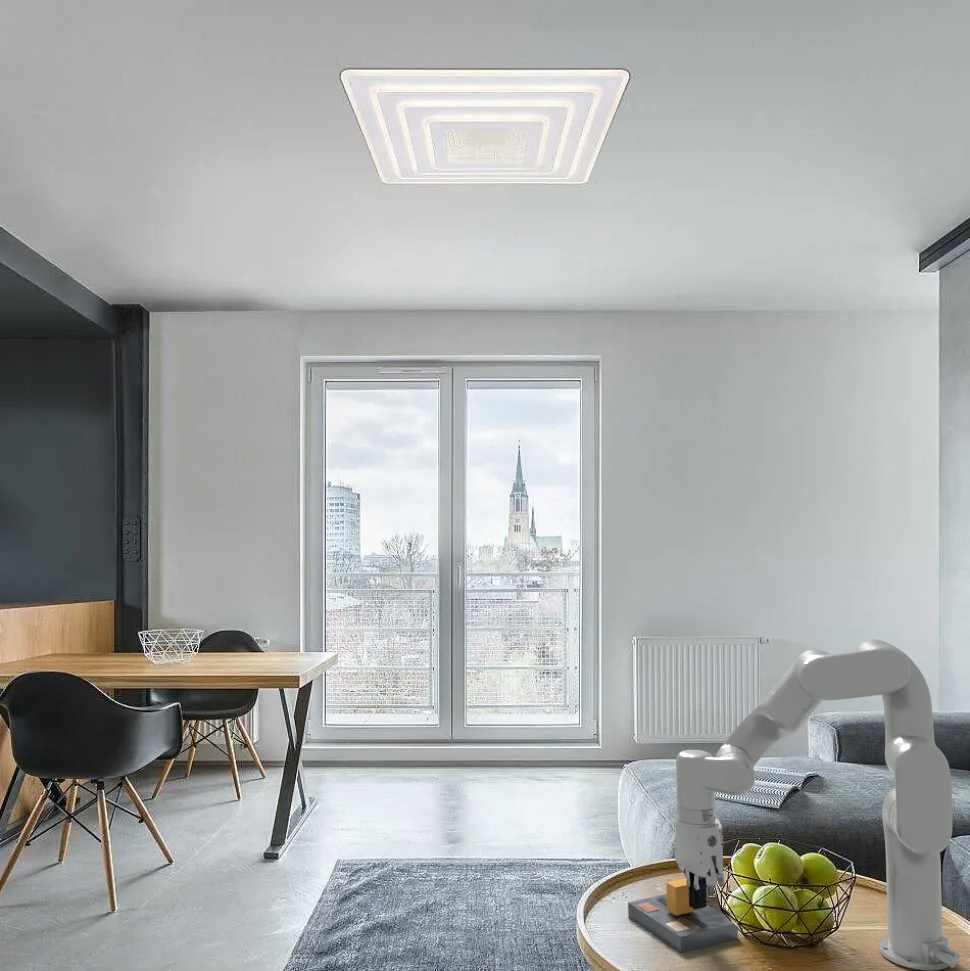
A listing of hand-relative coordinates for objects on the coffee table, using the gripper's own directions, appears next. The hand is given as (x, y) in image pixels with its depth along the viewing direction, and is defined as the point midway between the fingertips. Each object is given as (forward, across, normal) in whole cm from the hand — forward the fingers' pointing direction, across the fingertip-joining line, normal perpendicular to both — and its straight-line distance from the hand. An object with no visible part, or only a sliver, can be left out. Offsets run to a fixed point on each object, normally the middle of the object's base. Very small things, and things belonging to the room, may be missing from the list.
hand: (697, 906), depth 186 cm
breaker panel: (+6, +6, 0) cm, 8 cm away
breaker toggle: (+3, +6, 0) cm, 6 cm away
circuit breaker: (+6, +21, -18) cm, 29 cm away
